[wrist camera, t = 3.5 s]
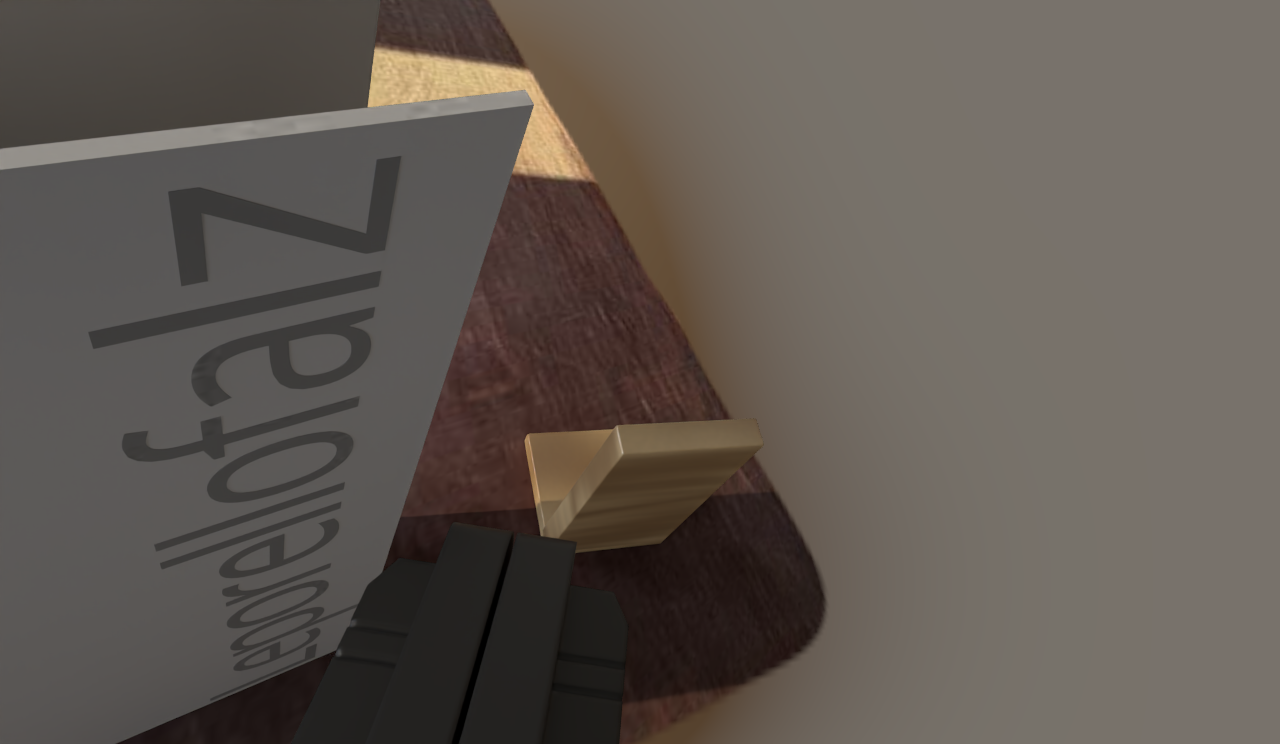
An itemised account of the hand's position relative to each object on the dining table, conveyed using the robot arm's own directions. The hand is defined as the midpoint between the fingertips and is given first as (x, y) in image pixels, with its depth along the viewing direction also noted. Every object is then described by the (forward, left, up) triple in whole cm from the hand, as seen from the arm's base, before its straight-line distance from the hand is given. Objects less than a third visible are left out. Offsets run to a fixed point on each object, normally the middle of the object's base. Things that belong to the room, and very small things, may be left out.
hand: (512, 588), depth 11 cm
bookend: (+12, -12, -28) cm, 33 cm away
